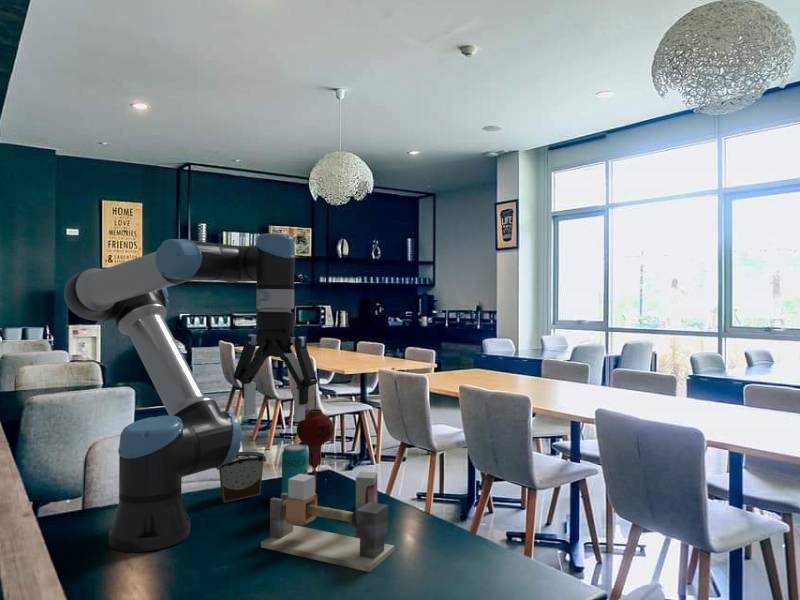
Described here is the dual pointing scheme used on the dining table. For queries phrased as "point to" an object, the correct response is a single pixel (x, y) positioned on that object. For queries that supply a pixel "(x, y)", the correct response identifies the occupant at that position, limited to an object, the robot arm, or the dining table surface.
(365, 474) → the small box
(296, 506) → the two-tone block
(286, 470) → the beverage can
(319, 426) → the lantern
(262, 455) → the food container
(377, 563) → the cord rig
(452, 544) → the dining table surface
